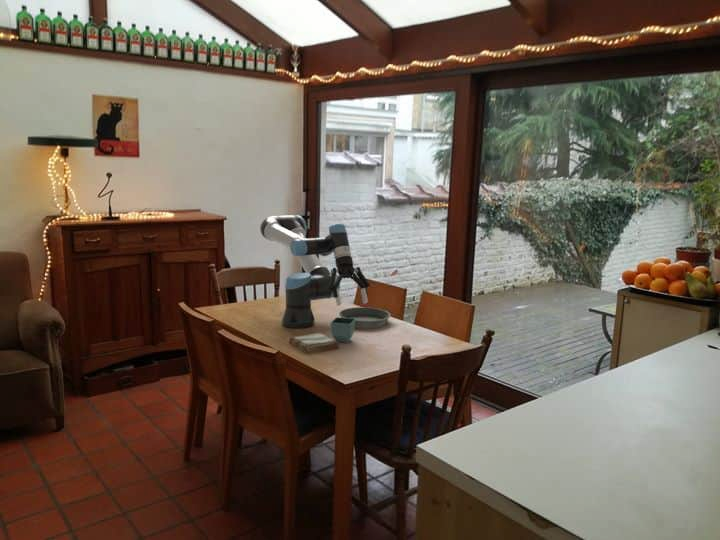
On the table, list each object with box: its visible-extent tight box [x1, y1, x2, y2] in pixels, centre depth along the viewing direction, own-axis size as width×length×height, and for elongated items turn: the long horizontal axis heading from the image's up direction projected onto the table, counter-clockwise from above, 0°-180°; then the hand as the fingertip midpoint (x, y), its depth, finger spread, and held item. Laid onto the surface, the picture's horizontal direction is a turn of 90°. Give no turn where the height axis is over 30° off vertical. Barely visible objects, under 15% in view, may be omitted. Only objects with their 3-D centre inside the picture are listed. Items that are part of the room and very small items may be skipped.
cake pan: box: [338, 306, 392, 329], centre depth 281 cm, size 25×25×4 cm
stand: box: [289, 332, 339, 354], centre depth 244 cm, size 16×14×3 cm
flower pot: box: [330, 316, 356, 343], centre depth 251 cm, size 9×9×9 cm
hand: (352, 303), depth 257 cm, fingers open, 13 cm apart
